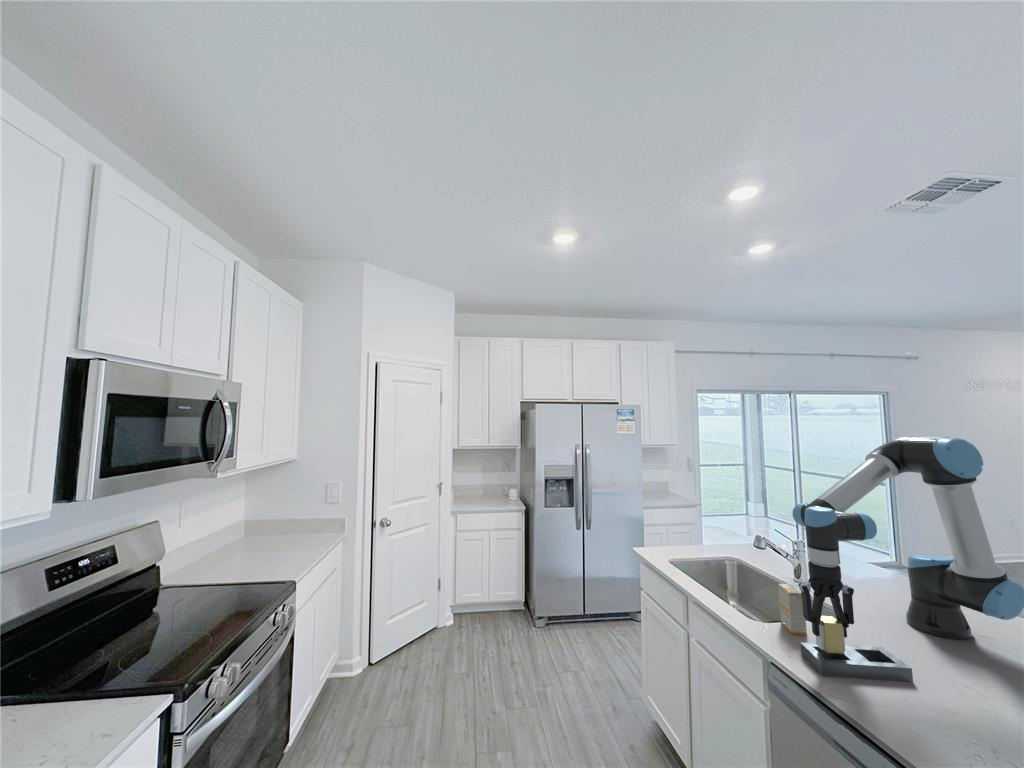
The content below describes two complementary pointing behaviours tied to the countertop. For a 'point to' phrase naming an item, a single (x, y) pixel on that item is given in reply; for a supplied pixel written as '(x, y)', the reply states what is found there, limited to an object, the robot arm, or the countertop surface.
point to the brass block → (832, 635)
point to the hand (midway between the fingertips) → (830, 647)
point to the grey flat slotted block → (857, 663)
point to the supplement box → (792, 609)
